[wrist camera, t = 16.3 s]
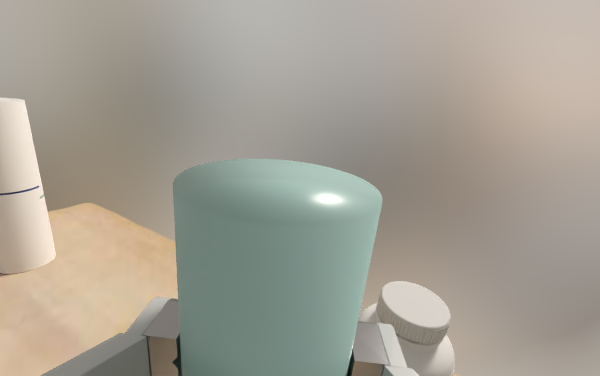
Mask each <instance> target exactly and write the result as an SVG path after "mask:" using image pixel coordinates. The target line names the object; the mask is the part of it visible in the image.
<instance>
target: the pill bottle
mask: <svg viewBox="0 0 600 376" xmlns="http://www.w3.org/2000/svg"><path fill="white" fill-rule="evenodd" d="M358 321H362V322H371V323H383V324H391V325H392V326H393V327H394V330H395V333H396V336H397V339H398V341H399V344H400V347H401V350H402V353H403V356H404V359H405V361H406V364H407V367H408V368H411V369H413V370H414V371H415V372H416V373H417V374H418V375H419V376H453V373H454V368H455V357H454V351H453V347H452V345H451V342H450V340H449V339H448V337H447V335H446V333H447V330H448V327H449V325H450V321H451V315H450V312H449V309H448V307H447V306H446V304H445V303H444V302H443V301H442V300H441V299H440V298H439V297H438V296H437V295H436V294H434V293H433V292H431V291H430V290H428V289H426V288H424V287H422V286H419V285H417V284H414V283H410V282H404V281H397V282H391V283H388V284H386V285H385V286H384V287H383V288H382V289H381V292H380V295H379V299H378V303H376V304H373V305H371V306H369V307H368V308H366V309H365V310H364V311H363V312H362V313H361V315H360V316H359V319H358Z"/></svg>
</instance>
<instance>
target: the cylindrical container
mask: <svg viewBox="0 0 600 376" xmlns="http://www.w3.org/2000/svg"><path fill="white" fill-rule="evenodd" d="M55 256H56V252H55V247H54V242H53V237H52V232H51V227H50V222H49V218H48V213H47V208H46V203H45V198H44V194H43V188H42V183H41V178H40V173H39V168H38V164H37V158H36V154H35V149H34V144H33V140H32V134H31V130H30V124H29V120H28V115H27V110H26V105H25V101H24V100H21V99H12V98H0V273H2V274H15V273H21V272H26V271H30V270H33V269H36V268H39V267H41V266H43V265H45V264H47V263H49V262H50V261H52V260H53V259H54V258H55Z"/></svg>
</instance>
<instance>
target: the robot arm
mask: <svg viewBox="0 0 600 376" xmlns="http://www.w3.org/2000/svg"><path fill="white" fill-rule="evenodd" d="M41 376H182V369H181V347H180V326H179V304H178V299H172V298H171V299H169V298H163V297H156V298H154V299H152V301H151V302H150V303H149V304H148V305H147V307H146V308H145V309H144V310H143V312H142V313H141V314H140V315H139V316H138V318H137V319H136V320H135V321H134V323H133V324H132V325H131V326H130V328H129V329H128V330H127V331H126V332H125V334H123V333H119V334H117V335H116V336H114V337H112V338H110V339H108V340H106V341H104V342H103V343H101V344H99V345H97V346H95V347H93V348H91V349H89V350H88V351H86V352H84V353H82V354H80V355H78V356H76V357H74V358H73V359H71V360H69V361H67V362H65V363H63V364H61V365H59V366H58V367H56V368H54V369H52V370H50V371H48V372H46V373H44V374H43V375H41ZM347 376H419V375H418V374H417V373H416V372H415V371H414V370H413V369H411V368H408V367H407V364H406V361H405V359H404V356H403V353H402V350H401V347H400V344H399V341H398V339H397V336H396V333H395V330H394V327H393V326H392V325H391V324H383V323H371V322H362V321H358V324H357V329H356V334H355V339H354V344H353V349H352V353H351V358H350V363H349V368H348V373H347Z"/></svg>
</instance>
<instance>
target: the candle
mask: <svg viewBox="0 0 600 376" xmlns="http://www.w3.org/2000/svg"><path fill="white" fill-rule="evenodd" d="M173 195H174V216H175V217H174V219H175V240H176V262H177V283H178V304H179V326H180V347H181V369H182V376H347V373H348V368H349V363H350V358H351V353H352V349H353V344H354V339H355V334H356V329H357V324H358V319H359V314H360V309H361V304H362V299H363V294H364V289H365V285H366V279H367V275H368V270H369V265H370V260H371V255H372V249H373V245H374V240H375V235H376V230H377V225H378V221H379V215H380V211H381V206H382V196H381V194H380V192H379V191H378V190H377V189H376V188H375V187H374V186H373V185H372V184H370V183H368V182H367V181H365V180H363V179H361V178H359V177H357V176H354V175H352V174H349V173H346V172H343V171H340V170H337V169H333V168H329V167H325V166H320V165H315V164H310V163H303V162H296V161H287V160H274V159H235V160H224V161H217V162H212V163H206V164H202V165H198V166H195V167H192V168H190V169H187V170H185V171H184V172H182V173H180V174H179V175H178V176H177V177H176V178H175V180H174V182H173Z"/></svg>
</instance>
